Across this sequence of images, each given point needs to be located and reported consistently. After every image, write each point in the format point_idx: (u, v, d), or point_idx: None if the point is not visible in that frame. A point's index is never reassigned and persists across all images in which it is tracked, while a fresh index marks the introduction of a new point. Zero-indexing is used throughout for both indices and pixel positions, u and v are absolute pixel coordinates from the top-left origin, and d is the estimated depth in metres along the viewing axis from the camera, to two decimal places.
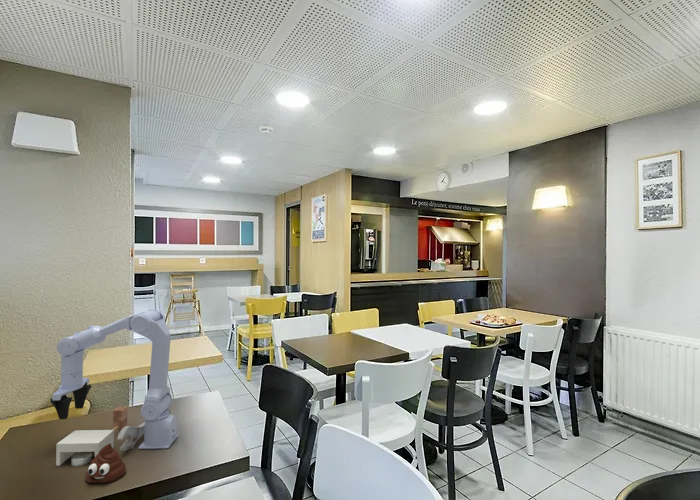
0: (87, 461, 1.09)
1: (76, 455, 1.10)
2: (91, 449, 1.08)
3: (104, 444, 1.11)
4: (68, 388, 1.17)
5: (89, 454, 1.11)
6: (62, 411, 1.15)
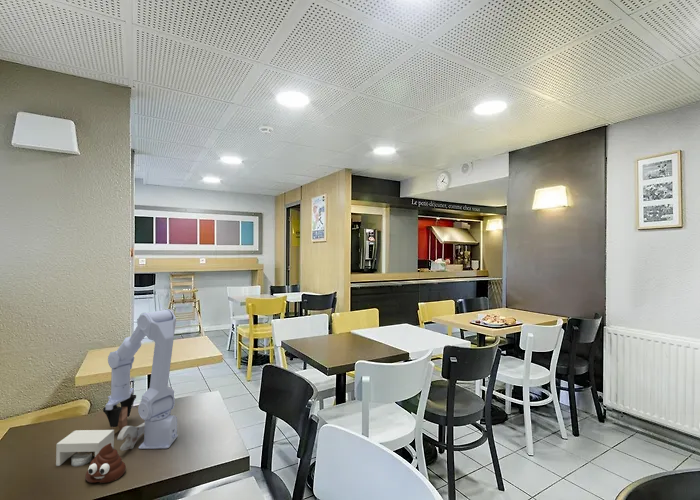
0: (87, 461, 1.09)
1: (76, 455, 1.10)
2: (91, 449, 1.08)
3: (104, 444, 1.11)
4: (118, 398, 1.28)
5: (89, 454, 1.11)
6: (113, 419, 1.26)
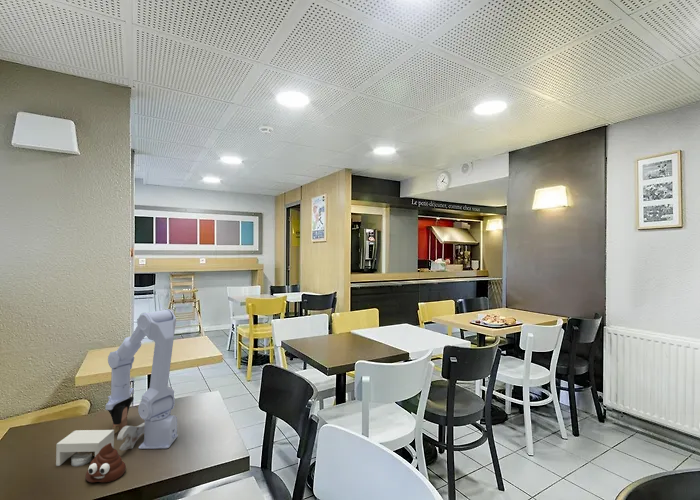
0: (87, 461, 1.09)
1: (76, 455, 1.10)
2: (91, 449, 1.08)
3: (104, 444, 1.11)
4: (118, 398, 1.28)
5: (89, 454, 1.11)
6: (116, 417, 1.28)
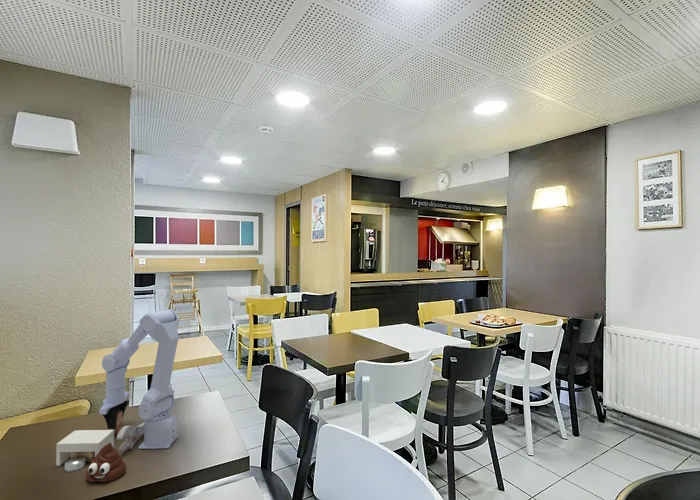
0: (81, 466, 1.07)
1: (70, 460, 1.07)
2: (91, 449, 1.08)
3: (104, 444, 1.11)
4: (113, 402, 1.25)
5: (83, 459, 1.08)
6: (111, 421, 1.25)
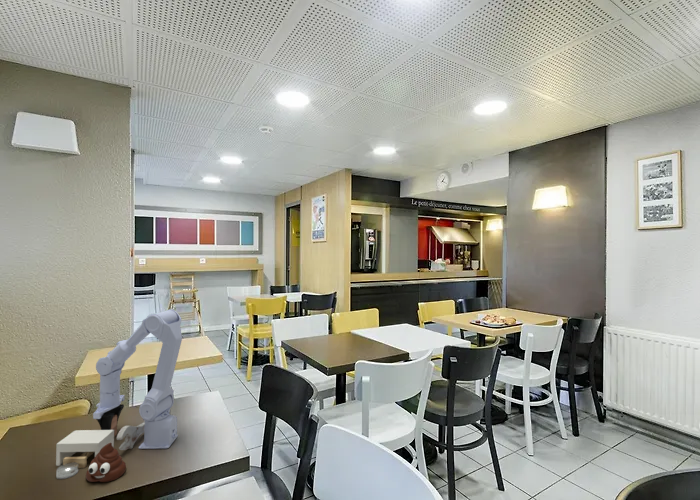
0: (73, 473, 1.03)
1: (61, 467, 1.04)
2: (91, 449, 1.08)
3: (104, 444, 1.11)
4: (107, 406, 1.21)
5: (75, 466, 1.05)
6: (105, 426, 1.22)
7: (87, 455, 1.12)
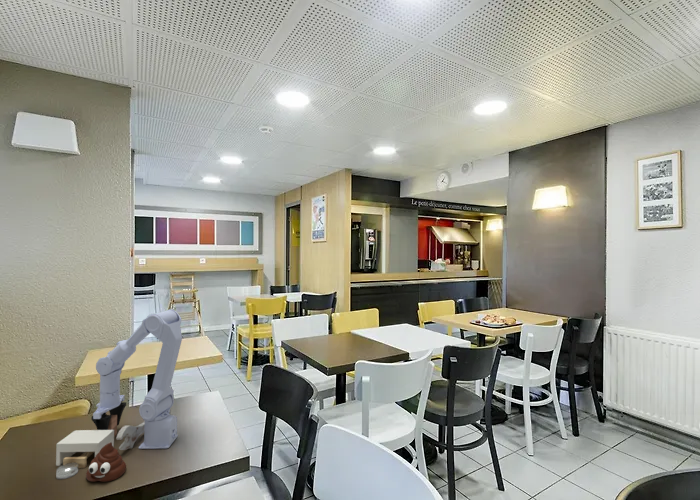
0: (73, 473, 1.03)
1: (61, 467, 1.04)
2: (91, 449, 1.08)
3: (104, 444, 1.11)
4: (107, 406, 1.21)
5: (75, 466, 1.05)
6: (102, 428, 1.20)
7: (87, 455, 1.12)
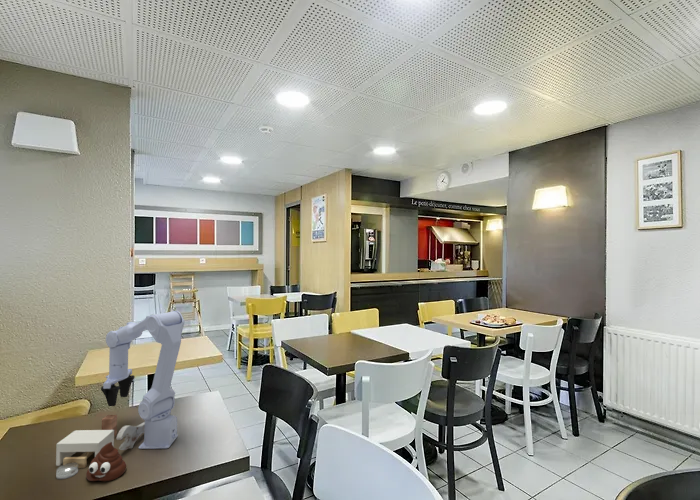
0: (73, 473, 1.03)
1: (61, 467, 1.04)
2: (91, 449, 1.08)
3: (104, 444, 1.11)
4: (116, 378, 1.27)
5: (75, 466, 1.05)
6: (111, 399, 1.26)
7: (87, 455, 1.12)
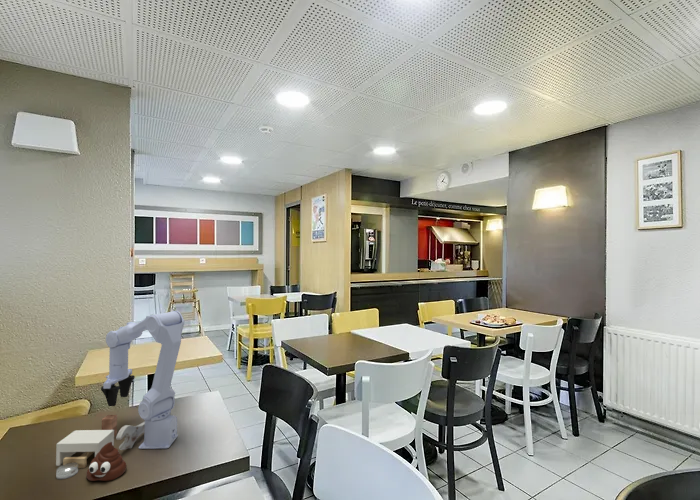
0: (73, 473, 1.03)
1: (61, 467, 1.04)
2: (91, 449, 1.08)
3: (104, 444, 1.11)
4: (116, 378, 1.27)
5: (75, 466, 1.05)
6: (111, 399, 1.26)
7: (87, 455, 1.12)
